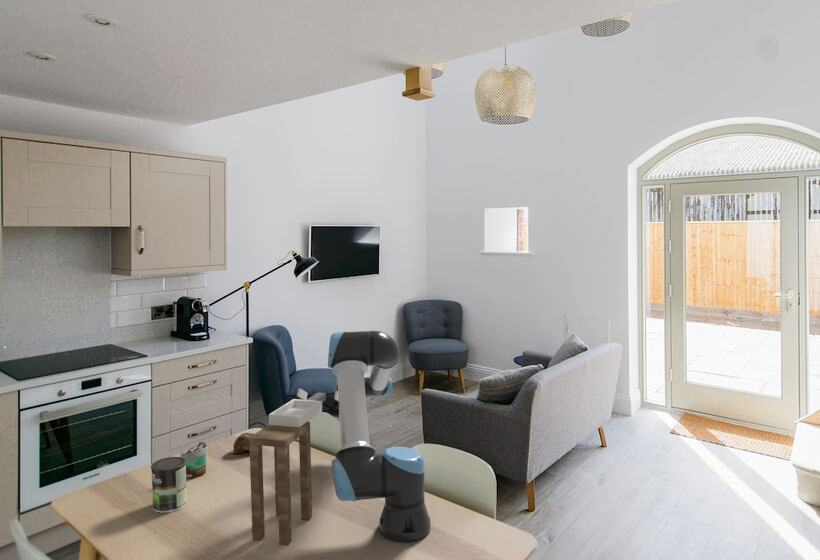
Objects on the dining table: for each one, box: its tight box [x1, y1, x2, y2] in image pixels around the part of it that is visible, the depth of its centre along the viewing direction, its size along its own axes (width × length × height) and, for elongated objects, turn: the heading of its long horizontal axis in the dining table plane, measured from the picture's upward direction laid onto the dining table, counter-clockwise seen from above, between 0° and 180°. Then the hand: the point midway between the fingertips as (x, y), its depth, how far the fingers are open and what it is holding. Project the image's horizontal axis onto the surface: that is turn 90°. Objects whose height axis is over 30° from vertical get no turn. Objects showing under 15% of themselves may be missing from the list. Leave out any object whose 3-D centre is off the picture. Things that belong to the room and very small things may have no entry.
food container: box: [179, 441, 209, 480], centre depth 195 cm, size 12×6×10 cm, turn 168°
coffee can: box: [150, 456, 188, 514], centre depth 172 cm, size 10×10×14 cm
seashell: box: [232, 431, 255, 454], centre depth 216 cm, size 11×9×8 cm
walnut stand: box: [249, 421, 313, 546], centre depth 157 cm, size 16×11×30 cm
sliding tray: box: [268, 392, 327, 428], centre depth 171 cm, size 27×10×3 cm, turn 165°
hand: (317, 393), depth 181 cm, fingers open, 13 cm apart
